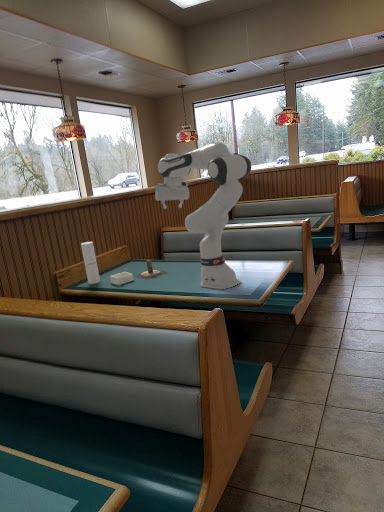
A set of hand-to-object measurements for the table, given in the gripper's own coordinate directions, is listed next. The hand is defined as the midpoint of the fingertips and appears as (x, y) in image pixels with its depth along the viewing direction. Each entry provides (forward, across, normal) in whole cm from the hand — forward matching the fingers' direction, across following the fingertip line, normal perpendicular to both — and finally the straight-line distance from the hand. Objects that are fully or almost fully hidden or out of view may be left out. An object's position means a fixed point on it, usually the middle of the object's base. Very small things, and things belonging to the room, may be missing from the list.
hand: (172, 208), depth 217 cm
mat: (+41, -7, +19) cm, 46 cm away
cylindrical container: (+45, -38, +36) cm, 69 cm away
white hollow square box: (+44, -25, +20) cm, 54 cm away
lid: (+41, -7, +19) cm, 46 cm away
